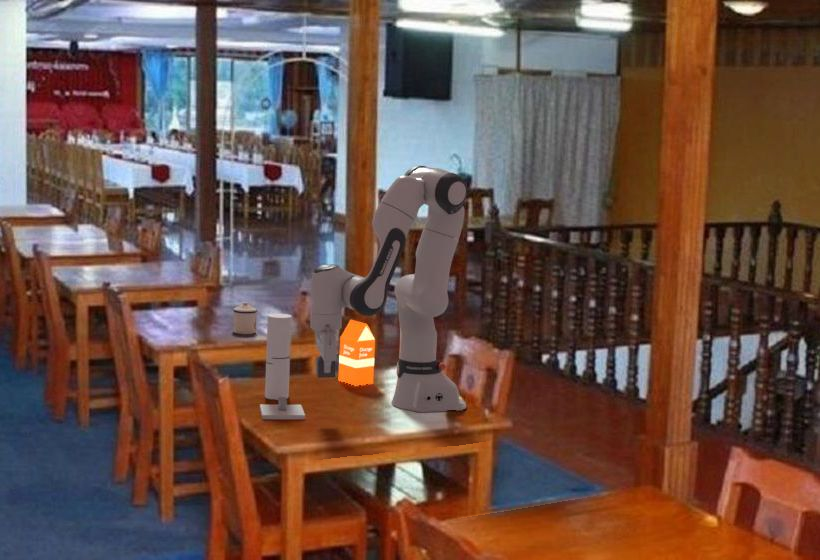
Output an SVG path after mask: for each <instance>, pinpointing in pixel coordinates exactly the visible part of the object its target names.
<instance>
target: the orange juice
mask: <svg viewBox="0 0 820 560" xmlns="http://www.w3.org/2000/svg"><path fill="white" fill-rule="evenodd" d="M375 351H376V338H375V336H374V335H373V332H372V330H371V329H370V327H369V325H368V324H367V323H364V322H361V321H358V320H355V319H350V320H349V321H348V324H347V325H346V327H345V328H344V331H343V332H342V334H341V336H339V353H338V354H339V355H338V379H337V380H338V381H337V382H340V381H341V382H340V383H343V382H345V383H344V384H346V383H348V384H347V385H349V384H351V385H350V386H352V385H354V386H353V387H360V386H359V385H361V386H367V385H366V384H368V385H373V384H374V373H375V372H374V371H375V370H374V369H375Z"/></svg>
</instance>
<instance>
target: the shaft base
mask: <svg viewBox="0 0 820 560" xmlns="http://www.w3.org/2000/svg"><path fill="white" fill-rule="evenodd" d="M287 399H288V398H286V397H279V398H278V400H277V403H278V404H268V403H267V404H266V403H265V404H261V403H260V404H259V411H260V415H261V419H262V420H306V414H305V411H304V409H303V406H302V404H288V400H287Z"/></svg>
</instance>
